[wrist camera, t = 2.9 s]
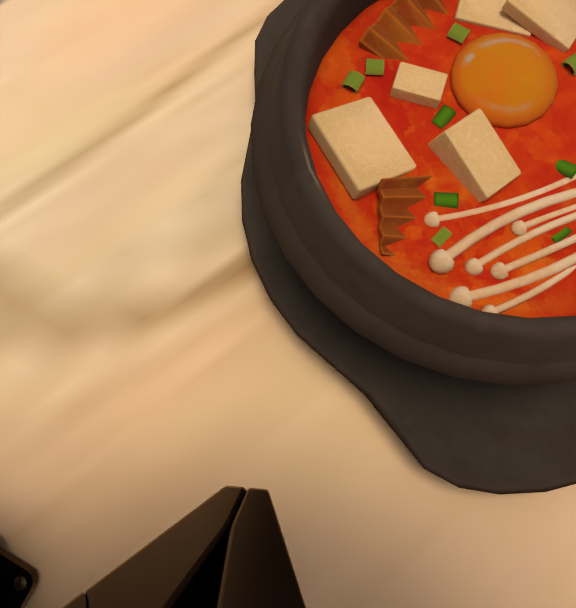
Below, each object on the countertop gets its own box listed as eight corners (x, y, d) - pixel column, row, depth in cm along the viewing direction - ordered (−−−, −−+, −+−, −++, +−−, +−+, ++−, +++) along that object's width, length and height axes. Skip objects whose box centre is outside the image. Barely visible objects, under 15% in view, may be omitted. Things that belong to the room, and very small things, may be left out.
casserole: (762, 397, 21) (1066, 388, 13) (354, 553, 20) (396, 655, 12) (511, -55, 26) (612, -270, 18) (176, 50, 25) (118, -128, 17)
